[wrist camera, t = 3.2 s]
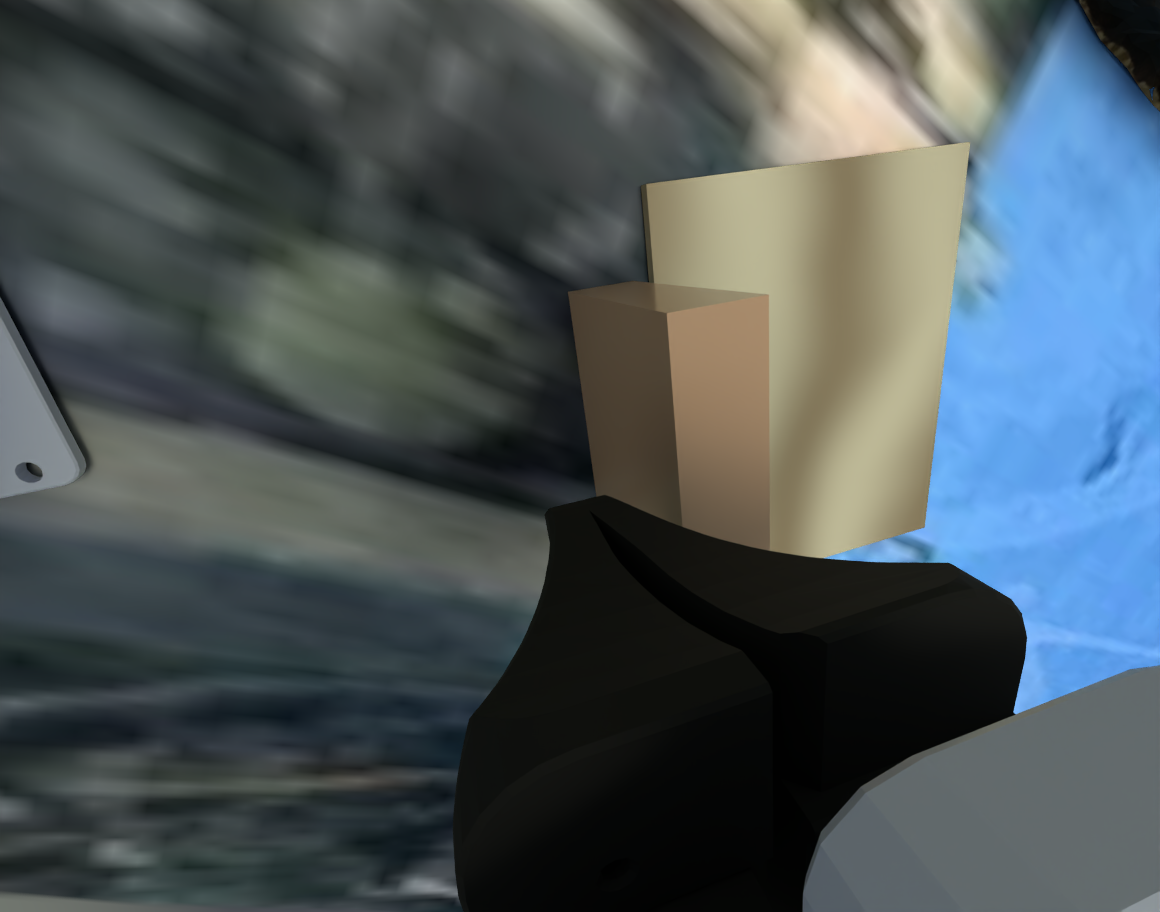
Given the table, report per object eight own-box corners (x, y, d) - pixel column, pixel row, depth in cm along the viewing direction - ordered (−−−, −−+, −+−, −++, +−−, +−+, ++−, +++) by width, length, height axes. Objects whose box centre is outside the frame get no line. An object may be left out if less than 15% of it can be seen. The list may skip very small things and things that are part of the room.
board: (675, 594, 20) (679, 601, 20) (640, 185, 15) (646, 183, 15) (916, 523, 23) (924, 527, 22) (958, 144, 17) (970, 141, 17)
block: (604, 554, 19) (695, 701, 13) (567, 291, 16) (667, 313, 9) (660, 539, 19) (775, 674, 13) (636, 280, 16) (776, 293, 10)
